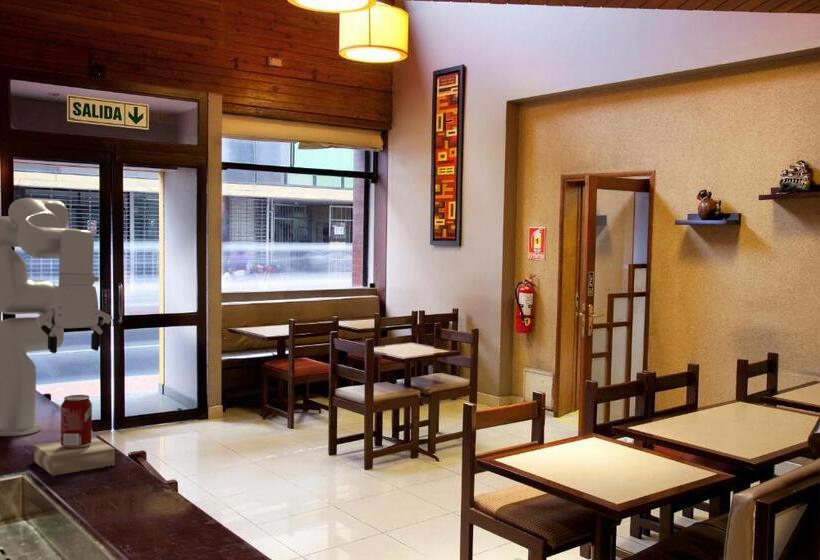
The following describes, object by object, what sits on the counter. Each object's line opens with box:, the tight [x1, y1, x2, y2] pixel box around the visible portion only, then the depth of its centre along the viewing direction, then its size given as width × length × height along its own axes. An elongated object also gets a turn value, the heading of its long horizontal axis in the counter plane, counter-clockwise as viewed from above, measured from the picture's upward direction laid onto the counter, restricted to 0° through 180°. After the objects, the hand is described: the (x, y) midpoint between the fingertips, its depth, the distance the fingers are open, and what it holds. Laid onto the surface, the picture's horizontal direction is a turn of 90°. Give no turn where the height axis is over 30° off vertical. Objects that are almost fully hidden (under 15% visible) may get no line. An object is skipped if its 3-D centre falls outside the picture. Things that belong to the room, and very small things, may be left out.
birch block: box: [33, 436, 116, 476], centre depth 177 cm, size 14×14×4 cm
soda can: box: [60, 394, 93, 449], centre depth 177 cm, size 7×7×12 cm
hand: (74, 351), depth 178 cm, fingers open, 9 cm apart
